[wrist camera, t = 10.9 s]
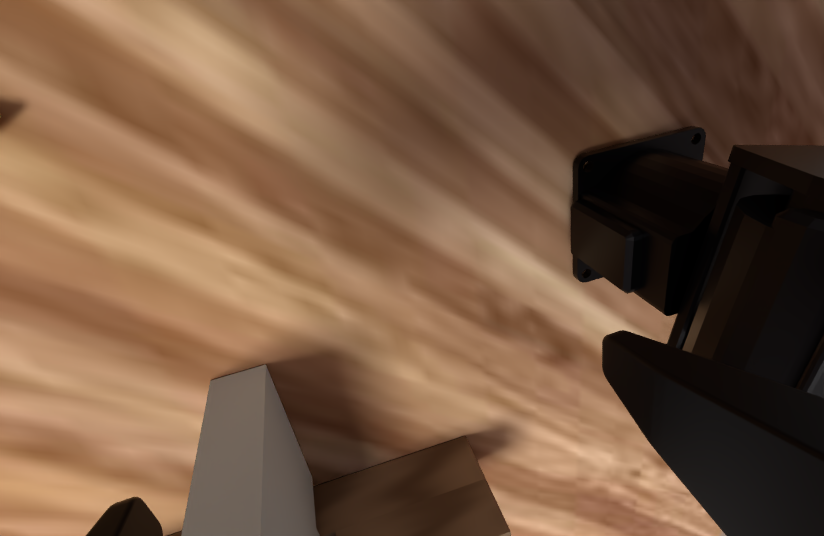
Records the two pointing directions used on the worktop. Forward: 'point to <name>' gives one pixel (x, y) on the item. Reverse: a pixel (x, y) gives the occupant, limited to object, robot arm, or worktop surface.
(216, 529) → the slotted top plate
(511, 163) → the worktop surface
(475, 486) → the slotted base plate
